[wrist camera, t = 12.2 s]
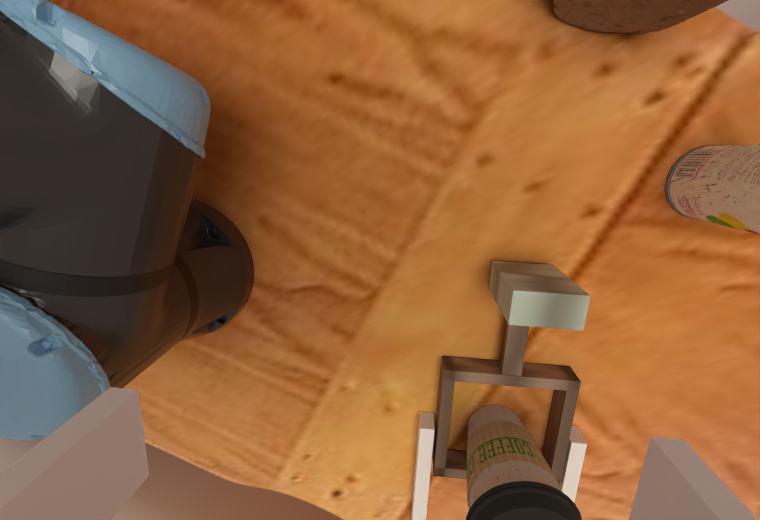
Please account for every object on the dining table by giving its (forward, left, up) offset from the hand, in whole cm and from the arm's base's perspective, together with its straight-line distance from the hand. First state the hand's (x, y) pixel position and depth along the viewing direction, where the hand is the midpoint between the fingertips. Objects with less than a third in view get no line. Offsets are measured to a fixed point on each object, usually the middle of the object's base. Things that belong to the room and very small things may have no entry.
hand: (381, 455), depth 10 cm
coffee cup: (+12, -23, -33) cm, 42 cm away
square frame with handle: (+12, -15, -33) cm, 38 cm away
